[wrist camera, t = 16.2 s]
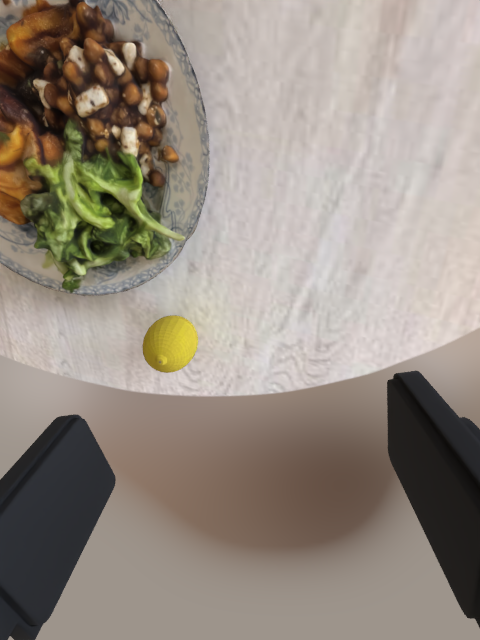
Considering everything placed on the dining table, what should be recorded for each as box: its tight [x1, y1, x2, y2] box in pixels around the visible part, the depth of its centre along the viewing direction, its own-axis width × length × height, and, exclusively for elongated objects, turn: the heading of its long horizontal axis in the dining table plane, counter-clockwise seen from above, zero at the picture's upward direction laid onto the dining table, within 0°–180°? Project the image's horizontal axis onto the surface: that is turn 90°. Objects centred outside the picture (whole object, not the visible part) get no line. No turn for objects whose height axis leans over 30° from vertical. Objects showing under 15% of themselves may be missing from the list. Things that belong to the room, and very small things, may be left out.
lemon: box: [143, 316, 198, 373], centre depth 31 cm, size 6×6×8 cm
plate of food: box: [0, 0, 209, 295], centre depth 25 cm, size 28×28×6 cm
